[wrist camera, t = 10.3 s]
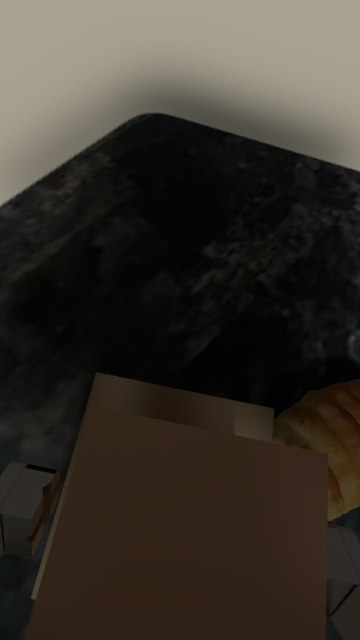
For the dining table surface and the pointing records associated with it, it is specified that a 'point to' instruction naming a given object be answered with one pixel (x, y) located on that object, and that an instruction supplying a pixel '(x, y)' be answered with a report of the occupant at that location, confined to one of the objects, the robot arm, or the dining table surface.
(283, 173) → the dining table surface
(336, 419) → the pastry
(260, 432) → the oak base block
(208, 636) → the reddish brown block
